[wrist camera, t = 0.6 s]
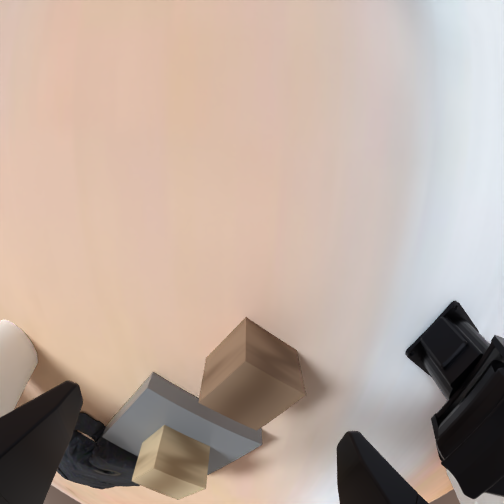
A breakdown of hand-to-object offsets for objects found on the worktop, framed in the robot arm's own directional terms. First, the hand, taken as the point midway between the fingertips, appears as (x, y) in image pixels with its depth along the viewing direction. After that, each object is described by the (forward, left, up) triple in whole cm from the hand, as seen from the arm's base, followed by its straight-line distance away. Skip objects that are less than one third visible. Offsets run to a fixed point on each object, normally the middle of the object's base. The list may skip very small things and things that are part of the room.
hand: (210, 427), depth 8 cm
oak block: (-7, +18, -11) cm, 22 cm away
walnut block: (-6, +5, -13) cm, 15 cm away
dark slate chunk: (-3, +35, -13) cm, 38 cm away
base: (-7, +18, -13) cm, 23 cm away
